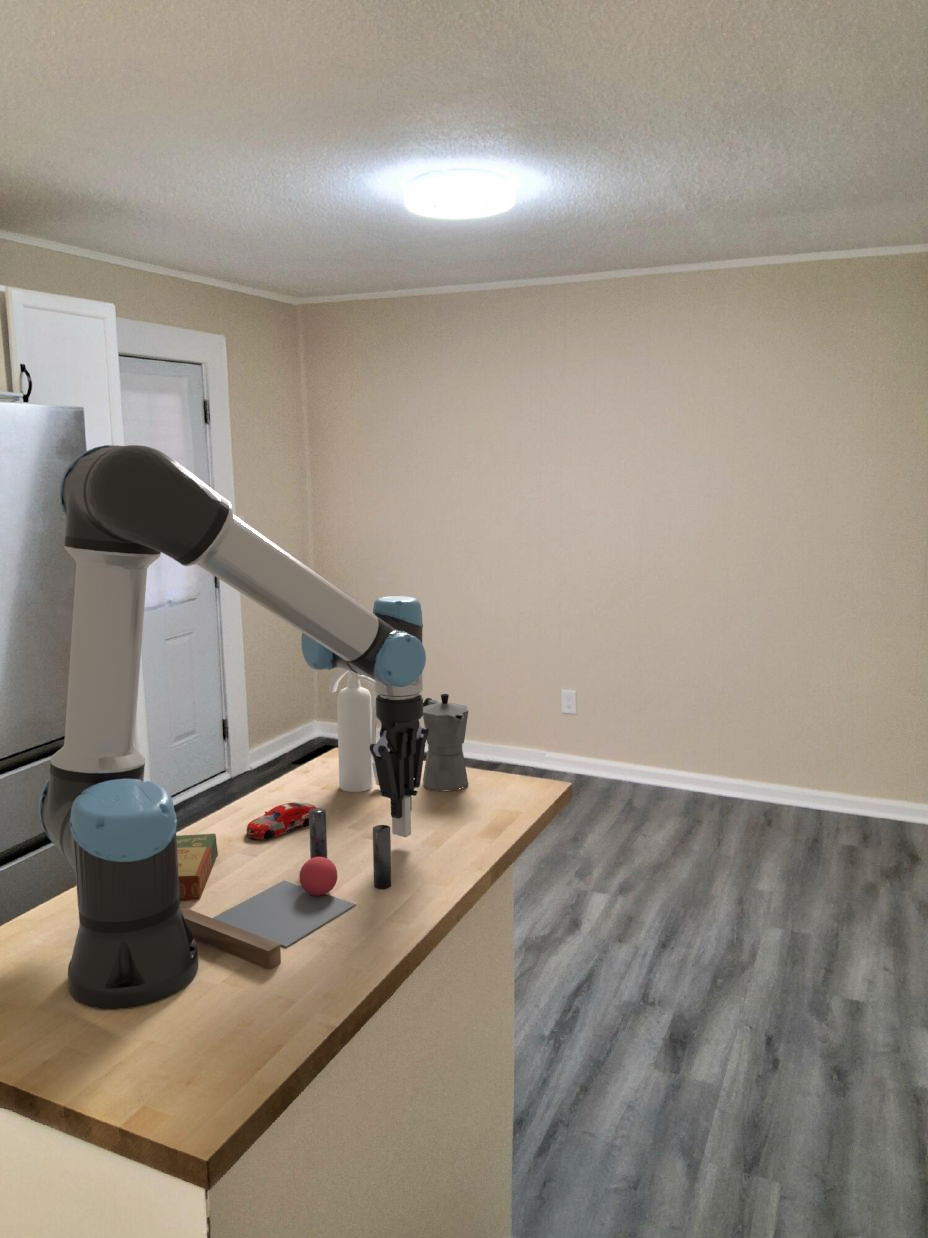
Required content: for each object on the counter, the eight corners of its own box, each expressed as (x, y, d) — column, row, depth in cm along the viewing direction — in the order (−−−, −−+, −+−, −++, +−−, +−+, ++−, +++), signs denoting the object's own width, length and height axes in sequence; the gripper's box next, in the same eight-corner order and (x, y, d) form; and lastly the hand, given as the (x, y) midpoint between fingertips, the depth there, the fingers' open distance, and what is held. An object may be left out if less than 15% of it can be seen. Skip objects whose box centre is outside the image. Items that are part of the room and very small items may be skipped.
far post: (319, 870, 145) (318, 815, 144) (307, 867, 147) (305, 812, 145) (331, 864, 147) (329, 810, 146) (318, 861, 149) (316, 806, 147)
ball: (344, 892, 138) (319, 905, 134) (316, 883, 141) (291, 895, 137) (345, 856, 137) (320, 868, 133) (317, 848, 140) (291, 859, 136)
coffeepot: (483, 789, 180) (483, 698, 177) (439, 798, 176) (438, 704, 173) (445, 767, 193) (445, 681, 190) (404, 774, 189) (402, 687, 186)
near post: (384, 891, 138) (382, 833, 137) (370, 886, 140) (369, 829, 138) (395, 884, 140) (393, 827, 139) (381, 880, 142) (380, 823, 140)
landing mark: (286, 948, 122) (286, 946, 122) (212, 919, 130) (212, 918, 130) (355, 905, 134) (355, 904, 134) (284, 881, 142) (284, 880, 141)
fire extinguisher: (381, 796, 176) (375, 664, 173) (324, 790, 181) (318, 662, 177) (396, 785, 183) (391, 658, 179) (341, 780, 187) (335, 655, 184)
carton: (141, 906, 135) (139, 878, 134) (165, 859, 151) (163, 833, 150) (201, 902, 136) (199, 874, 135) (218, 856, 152) (217, 831, 151)
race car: (257, 846, 156) (255, 823, 155) (240, 836, 159) (239, 814, 159) (323, 824, 164) (322, 802, 164) (306, 815, 168) (305, 794, 168)
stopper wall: (269, 969, 117) (268, 951, 117) (173, 930, 127) (172, 913, 127) (280, 962, 119) (280, 944, 118) (185, 924, 129) (184, 907, 128)
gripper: (392, 706, 142) (395, 853, 146) (442, 688, 153) (443, 826, 157) (354, 699, 146) (358, 842, 150) (405, 682, 157) (407, 816, 161)
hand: (401, 834), depth 154 cm, fingers closed
